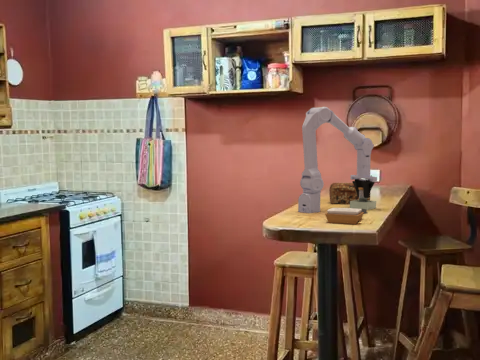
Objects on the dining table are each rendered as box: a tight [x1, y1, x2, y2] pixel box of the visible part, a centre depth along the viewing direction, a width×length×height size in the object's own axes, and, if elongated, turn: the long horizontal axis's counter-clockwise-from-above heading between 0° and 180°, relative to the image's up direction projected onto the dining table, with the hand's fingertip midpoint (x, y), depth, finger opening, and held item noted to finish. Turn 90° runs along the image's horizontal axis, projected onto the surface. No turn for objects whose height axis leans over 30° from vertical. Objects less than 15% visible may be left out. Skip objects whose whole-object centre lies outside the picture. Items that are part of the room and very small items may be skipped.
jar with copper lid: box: [358, 187, 367, 202], centre depth 241 cm, size 4×4×7 cm
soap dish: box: [324, 207, 365, 225], centre depth 210 cm, size 12×10×5 cm
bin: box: [349, 199, 377, 211], centre depth 242 cm, size 8×8×4 cm
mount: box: [355, 208, 369, 215], centre depth 229 cm, size 10×10×2 cm
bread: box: [328, 182, 371, 205], centre depth 269 cm, size 19×11×10 cm, turn 85°
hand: (363, 197), depth 242 cm, fingers closed on jar with copper lid, 4 cm apart
